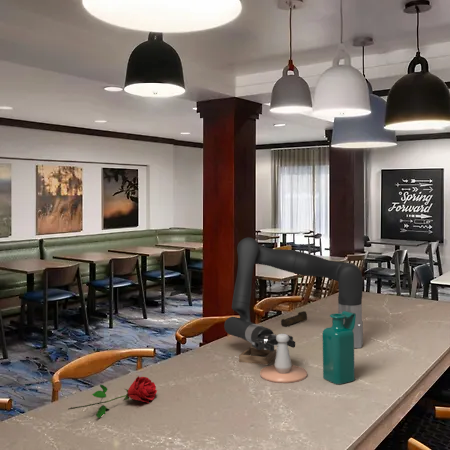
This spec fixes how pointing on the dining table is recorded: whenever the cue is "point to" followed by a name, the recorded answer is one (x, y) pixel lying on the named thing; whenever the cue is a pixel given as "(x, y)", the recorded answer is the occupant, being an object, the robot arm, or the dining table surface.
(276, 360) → the salt shaker
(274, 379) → the terracotta pad
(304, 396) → the dining table surface
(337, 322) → the pitcher
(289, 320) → the hand tool
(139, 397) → the flower
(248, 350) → the brown wooden square frame
